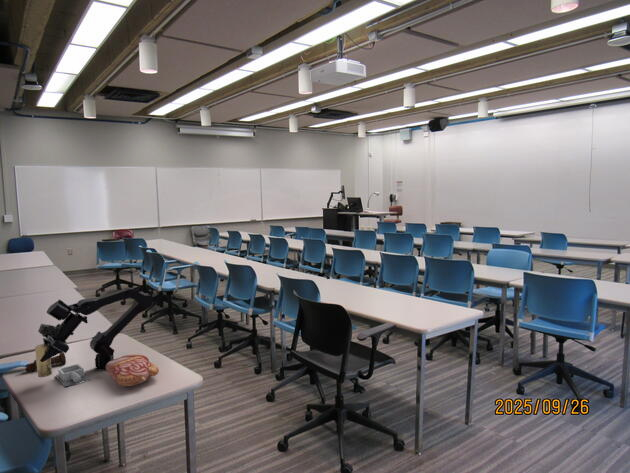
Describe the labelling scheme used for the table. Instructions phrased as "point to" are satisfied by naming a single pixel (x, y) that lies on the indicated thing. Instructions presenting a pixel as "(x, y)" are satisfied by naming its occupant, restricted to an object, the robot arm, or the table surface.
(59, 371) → the manifold
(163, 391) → the table surface
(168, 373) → the table surface
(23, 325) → the table surface
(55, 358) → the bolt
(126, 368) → the anatomical model
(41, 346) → the gold metallic cylinder
